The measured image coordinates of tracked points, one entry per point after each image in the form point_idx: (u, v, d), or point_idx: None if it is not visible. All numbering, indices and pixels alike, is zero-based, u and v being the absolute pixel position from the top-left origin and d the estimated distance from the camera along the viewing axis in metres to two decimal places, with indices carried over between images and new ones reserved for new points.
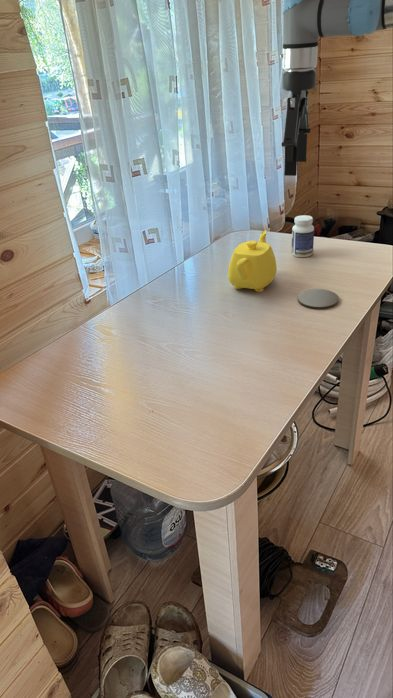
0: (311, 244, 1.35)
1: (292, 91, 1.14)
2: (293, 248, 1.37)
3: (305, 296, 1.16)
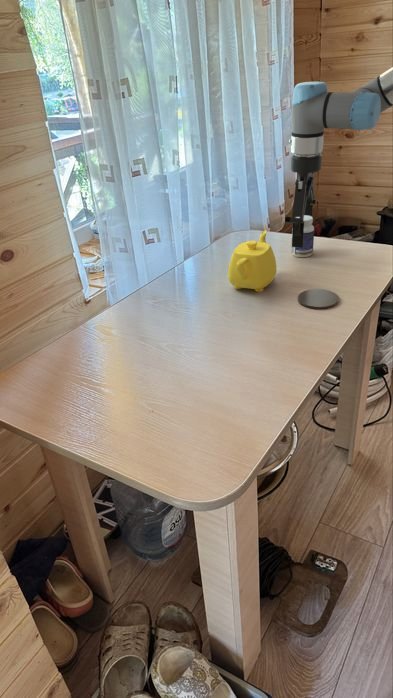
0: (311, 244, 1.35)
1: (300, 173, 1.24)
2: (293, 248, 1.37)
3: (305, 296, 1.16)
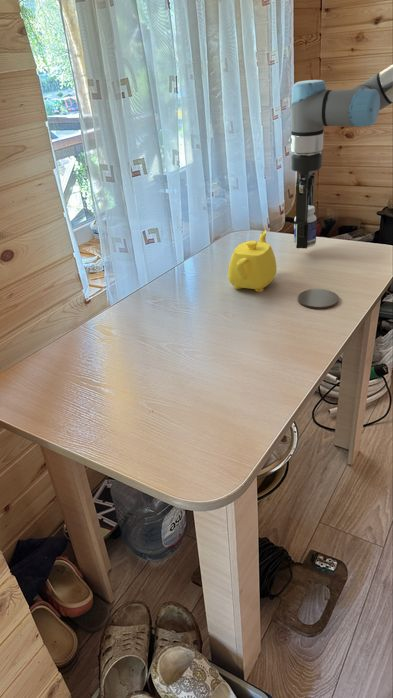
0: (314, 234, 1.33)
1: (300, 172, 1.24)
2: (295, 238, 1.35)
3: (305, 296, 1.16)
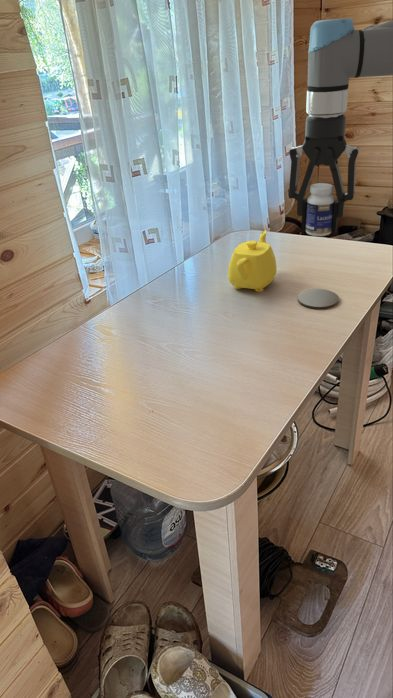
0: (311, 221, 1.08)
1: None
2: None
3: (305, 296, 1.16)
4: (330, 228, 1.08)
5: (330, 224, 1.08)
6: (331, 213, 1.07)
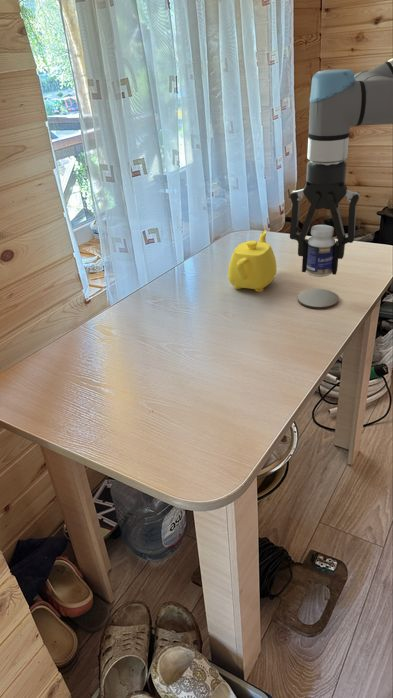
0: (312, 262, 1.09)
1: None
2: None
3: (305, 296, 1.16)
4: (331, 269, 1.09)
5: (331, 265, 1.09)
6: (332, 255, 1.08)
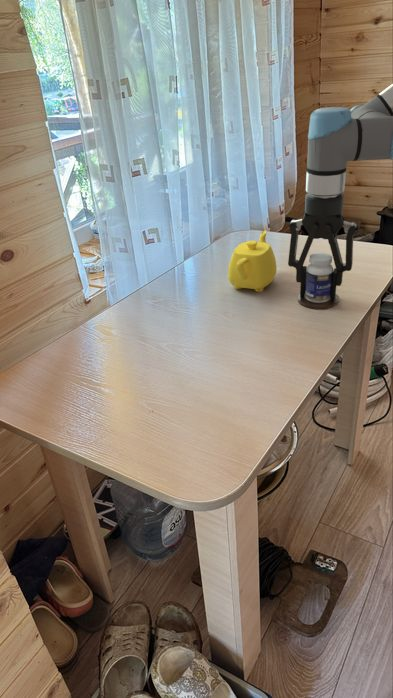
0: (311, 289, 1.12)
1: None
2: None
3: None
4: (329, 295, 1.13)
5: (329, 292, 1.12)
6: (330, 282, 1.11)
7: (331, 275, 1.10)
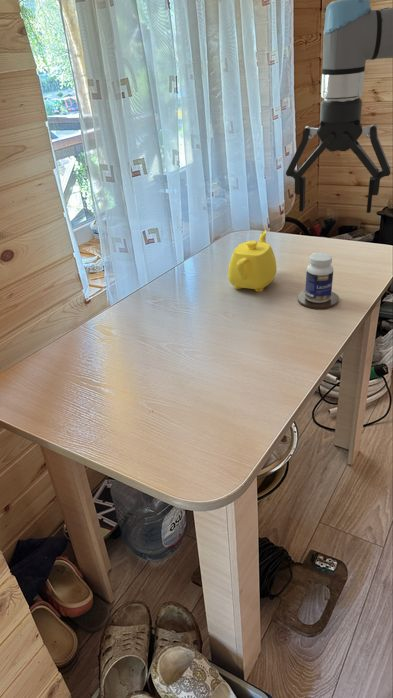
0: (311, 289, 1.12)
1: None
2: None
3: None
4: (329, 295, 1.13)
5: (329, 292, 1.12)
6: (330, 282, 1.11)
7: (331, 275, 1.10)
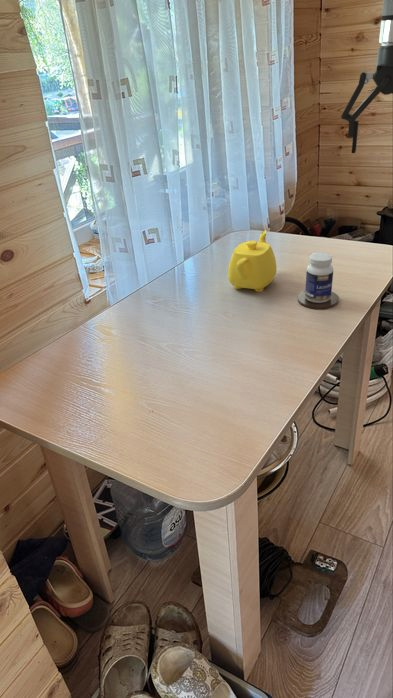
0: (311, 289, 1.12)
1: None
2: None
3: None
4: (329, 295, 1.13)
5: (329, 292, 1.12)
6: (330, 282, 1.11)
7: (331, 275, 1.10)
